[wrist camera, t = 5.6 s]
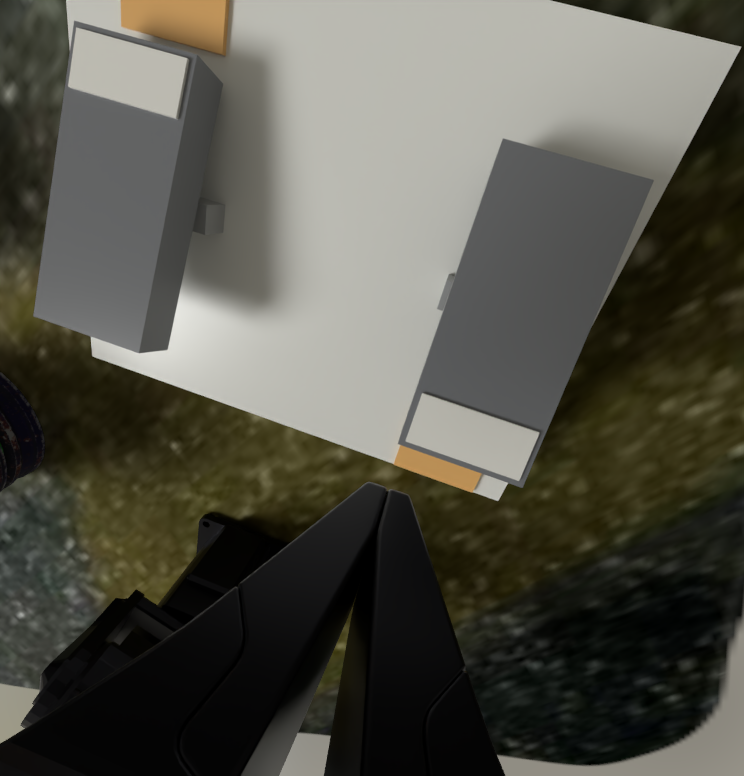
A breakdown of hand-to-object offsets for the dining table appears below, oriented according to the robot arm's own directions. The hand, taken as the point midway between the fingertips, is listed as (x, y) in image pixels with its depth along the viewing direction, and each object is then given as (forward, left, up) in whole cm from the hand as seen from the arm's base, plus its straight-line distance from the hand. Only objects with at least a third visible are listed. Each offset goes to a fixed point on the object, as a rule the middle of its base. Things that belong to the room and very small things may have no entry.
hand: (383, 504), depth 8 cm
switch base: (+2, +5, -12) cm, 13 cm away
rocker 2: (+3, -2, -7) cm, 7 cm away
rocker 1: (+3, +11, -7) cm, 13 cm away
